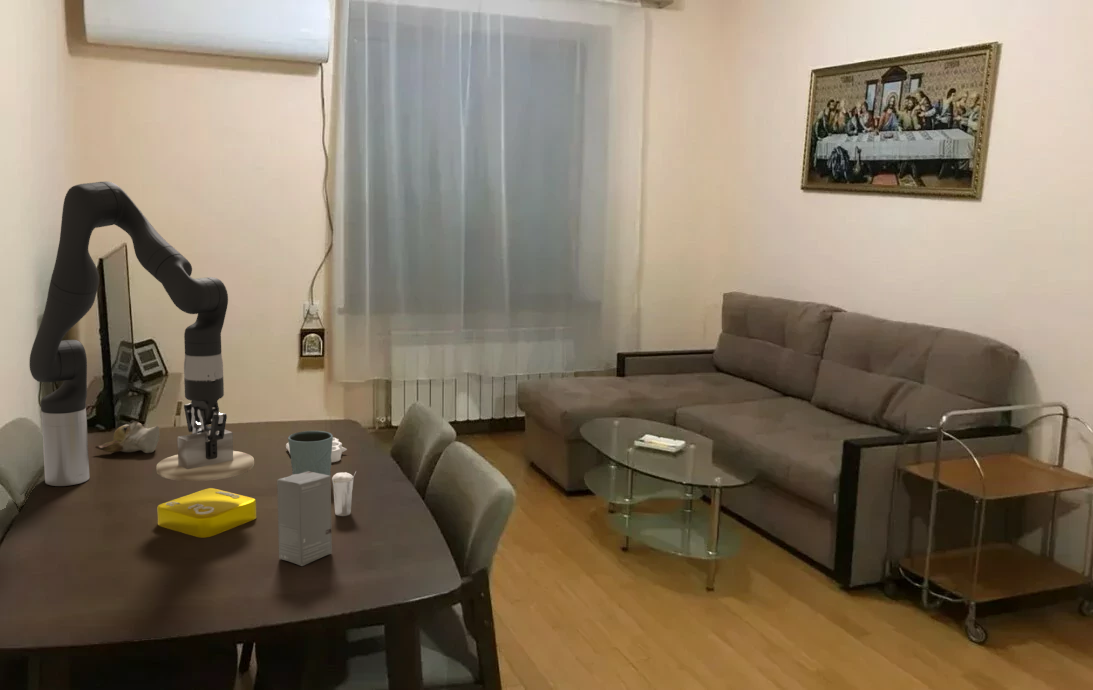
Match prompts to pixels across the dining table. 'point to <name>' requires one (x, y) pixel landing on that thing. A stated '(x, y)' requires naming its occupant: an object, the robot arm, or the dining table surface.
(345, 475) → the milkshake
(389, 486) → the dining table surface
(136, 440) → the ceramic sculpture
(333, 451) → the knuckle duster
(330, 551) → the skincare box
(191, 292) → the robot arm
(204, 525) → the element tile
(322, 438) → the blue-grey pot
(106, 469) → the dining table surface
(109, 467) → the dining table surface
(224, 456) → the lid
